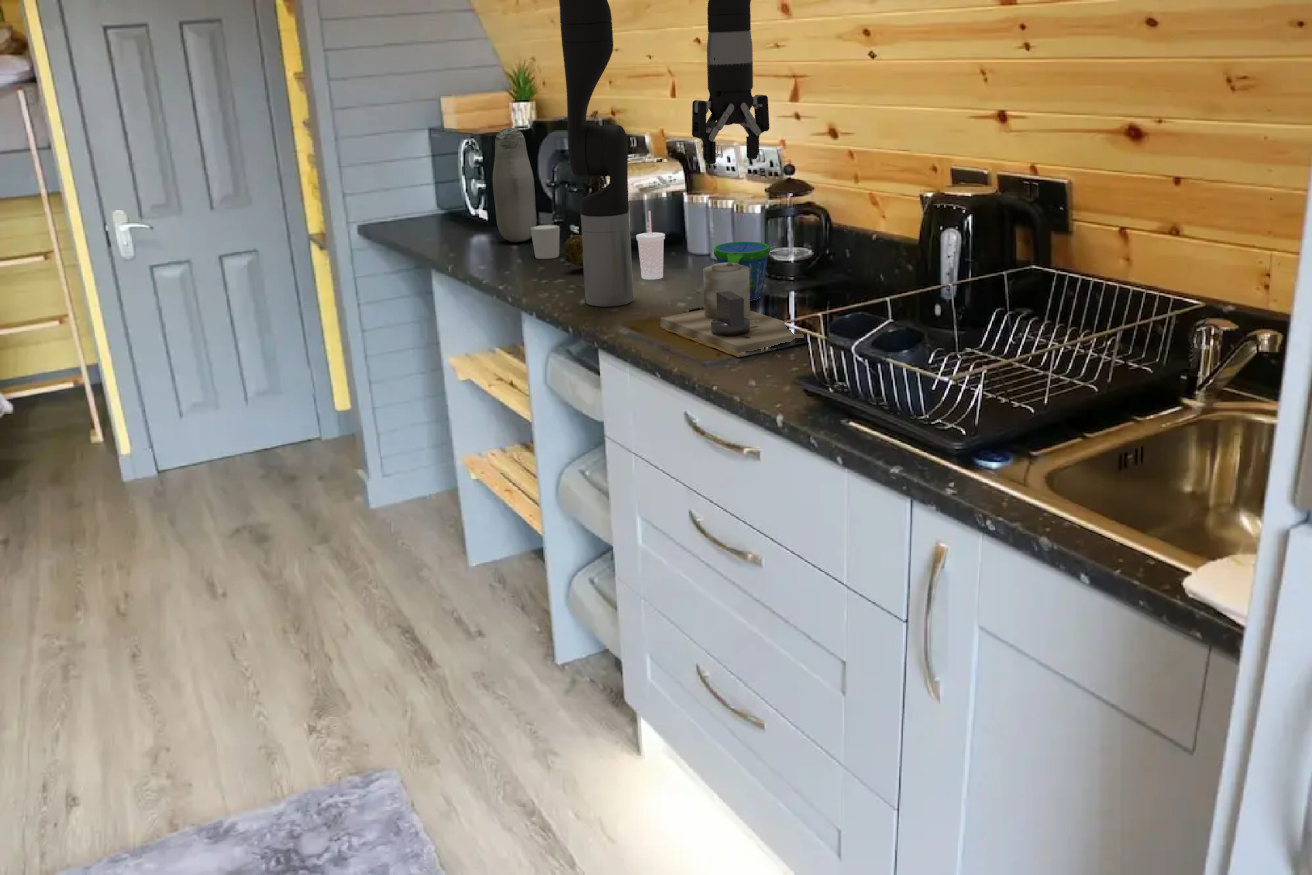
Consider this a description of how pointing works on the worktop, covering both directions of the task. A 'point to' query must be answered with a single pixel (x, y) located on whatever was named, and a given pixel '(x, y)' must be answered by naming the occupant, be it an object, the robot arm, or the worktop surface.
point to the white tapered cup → (545, 241)
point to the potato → (574, 250)
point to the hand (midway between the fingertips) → (731, 161)
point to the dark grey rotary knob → (731, 315)
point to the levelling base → (731, 341)
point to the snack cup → (747, 261)
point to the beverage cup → (651, 253)
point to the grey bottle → (513, 186)
